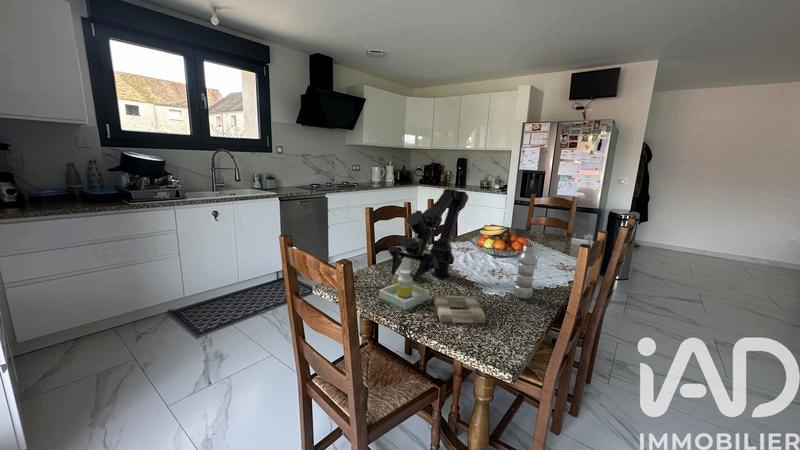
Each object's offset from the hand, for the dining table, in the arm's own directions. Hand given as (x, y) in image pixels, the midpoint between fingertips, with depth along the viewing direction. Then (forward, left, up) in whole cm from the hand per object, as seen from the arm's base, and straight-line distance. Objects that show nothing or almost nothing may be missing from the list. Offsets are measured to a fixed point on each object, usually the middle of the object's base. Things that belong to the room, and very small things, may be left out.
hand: (402, 277), depth 110 cm
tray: (-1, 0, -9) cm, 9 cm away
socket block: (-7, +19, -9) cm, 22 cm away
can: (-18, -17, -9) cm, 27 cm away
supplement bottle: (-1, 0, -8) cm, 8 cm away
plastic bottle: (-35, +29, -9) cm, 46 cm away
